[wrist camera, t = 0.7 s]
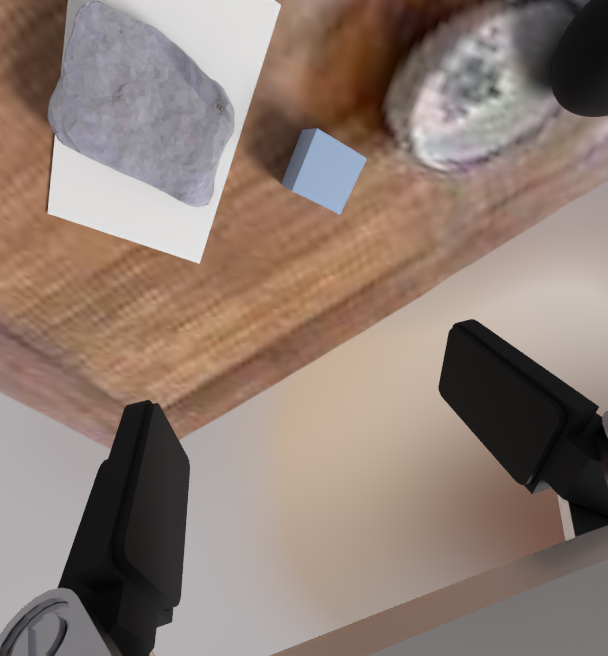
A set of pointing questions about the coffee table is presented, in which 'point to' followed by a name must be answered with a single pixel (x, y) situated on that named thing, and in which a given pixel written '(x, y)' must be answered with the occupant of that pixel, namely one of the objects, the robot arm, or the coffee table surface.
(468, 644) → the robot arm
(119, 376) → the coffee table surface
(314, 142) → the blue cube
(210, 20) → the letter sheet
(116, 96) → the stone block
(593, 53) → the decorative ball
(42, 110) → the coffee table surface
